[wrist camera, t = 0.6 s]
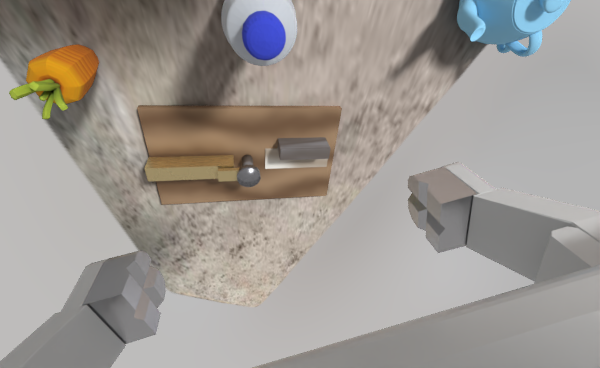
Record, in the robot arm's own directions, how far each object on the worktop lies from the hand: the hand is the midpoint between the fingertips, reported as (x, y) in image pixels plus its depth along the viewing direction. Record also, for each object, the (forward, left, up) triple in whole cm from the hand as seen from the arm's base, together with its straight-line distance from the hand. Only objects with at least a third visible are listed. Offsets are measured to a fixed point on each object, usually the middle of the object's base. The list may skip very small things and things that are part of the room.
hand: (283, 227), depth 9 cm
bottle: (-1, +1, -38) cm, 38 cm away
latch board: (+22, 0, -38) cm, 44 cm away
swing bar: (+22, -6, -37) cm, 43 cm away
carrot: (+6, -19, -38) cm, 43 cm away
